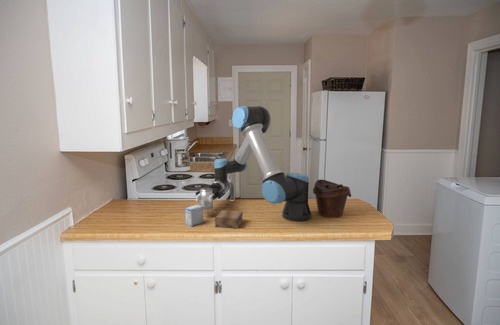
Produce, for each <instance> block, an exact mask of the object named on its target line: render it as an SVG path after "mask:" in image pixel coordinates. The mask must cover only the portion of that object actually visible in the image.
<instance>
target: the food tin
mask: <svg viewBox="0 0 500 325" xmlns="http://www.w3.org/2000/svg"><path fill="white" fill-rule="evenodd" d="M199 190H200V200H199V204H200V206H203V211H204V210H206V211H207V210H212V209H213V208H214V204H213V203H214V200H212V201H211V202H209V197H210V196H211V195H212V194H213V193H212V190H213V189H212V188H209V187H201V188H199Z"/></svg>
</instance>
